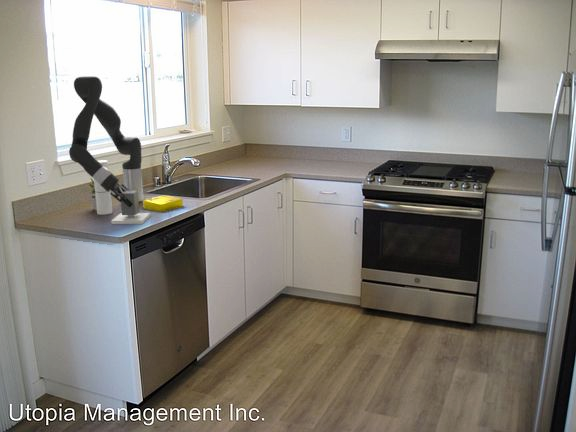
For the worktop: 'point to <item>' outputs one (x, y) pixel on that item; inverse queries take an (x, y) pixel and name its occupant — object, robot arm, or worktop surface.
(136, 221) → the stud plate
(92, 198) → the house plant
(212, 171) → the worktop surface
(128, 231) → the worktop surface
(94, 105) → the robot arm
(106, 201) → the cylindrical container
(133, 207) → the tall grey pillar
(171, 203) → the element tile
